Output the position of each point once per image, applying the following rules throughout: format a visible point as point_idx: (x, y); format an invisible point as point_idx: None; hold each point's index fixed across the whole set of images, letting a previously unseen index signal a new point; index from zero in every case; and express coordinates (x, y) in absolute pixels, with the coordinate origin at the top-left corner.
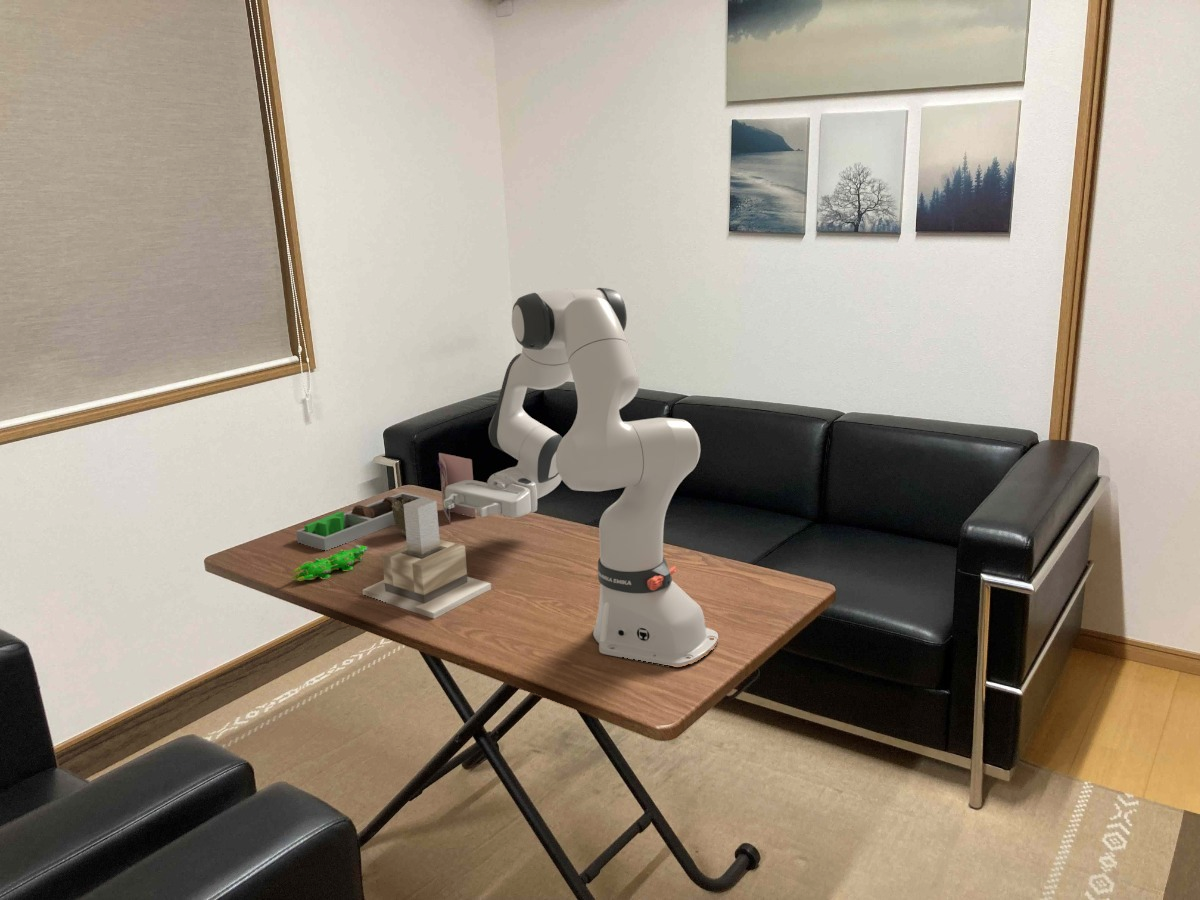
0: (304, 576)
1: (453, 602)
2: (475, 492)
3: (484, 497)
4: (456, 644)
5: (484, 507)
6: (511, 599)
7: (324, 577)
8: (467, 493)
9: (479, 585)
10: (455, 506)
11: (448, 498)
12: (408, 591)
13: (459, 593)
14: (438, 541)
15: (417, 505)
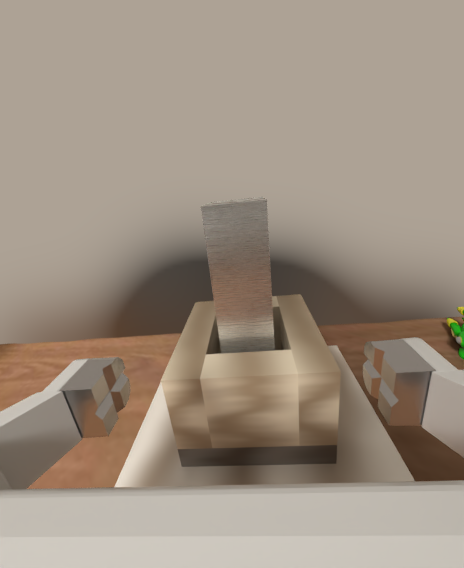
0: (455, 324)
1: (160, 385)
2: (314, 529)
3: (95, 490)
4: (113, 344)
5: (65, 375)
6: (40, 486)
7: (462, 350)
8: (426, 481)
9: (139, 468)
10: None
11: (444, 362)
12: None
13: (167, 412)
14: (218, 325)
15: (224, 201)
